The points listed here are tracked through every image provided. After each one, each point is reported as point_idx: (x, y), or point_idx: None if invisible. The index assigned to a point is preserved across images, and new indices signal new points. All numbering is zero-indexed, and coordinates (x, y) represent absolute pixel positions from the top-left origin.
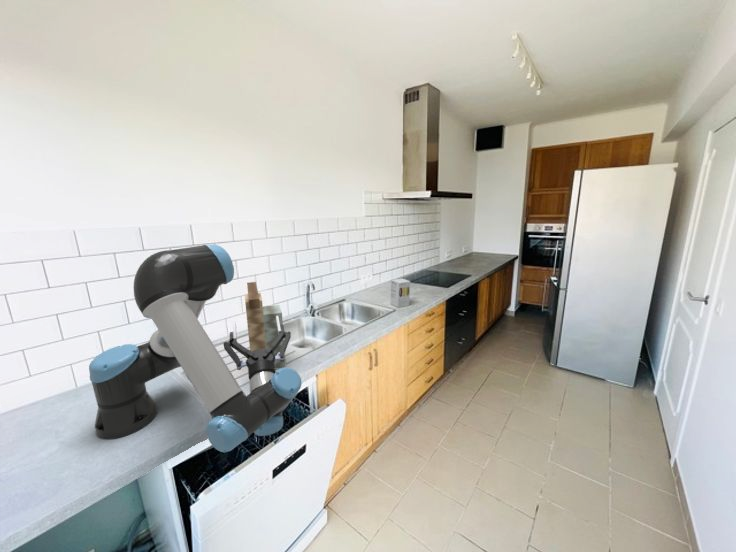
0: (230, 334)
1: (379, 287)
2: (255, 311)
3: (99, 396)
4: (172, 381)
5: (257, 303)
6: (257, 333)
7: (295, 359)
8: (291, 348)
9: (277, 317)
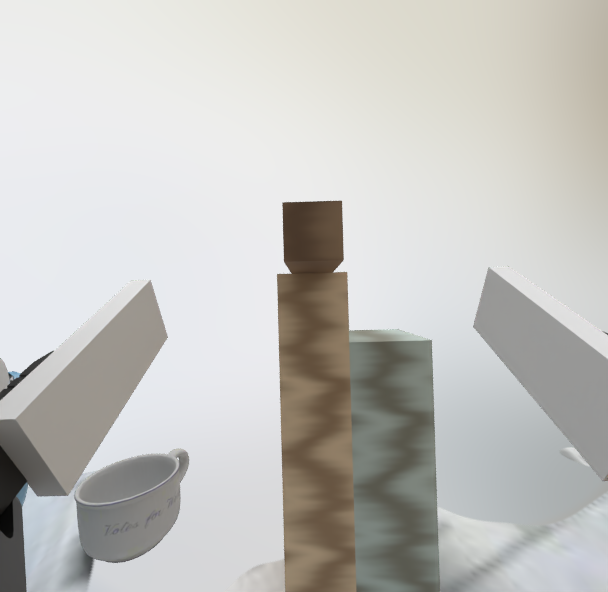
0: (31, 371)
1: None
2: (316, 321)
3: None
4: None
5: (330, 229)
6: (319, 428)
7: (471, 580)
8: None
9: (510, 275)
